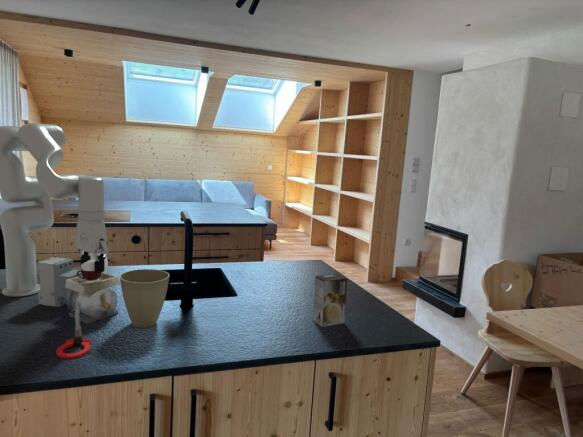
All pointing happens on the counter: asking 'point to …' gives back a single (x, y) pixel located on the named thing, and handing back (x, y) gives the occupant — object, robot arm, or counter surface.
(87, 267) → the cocoa
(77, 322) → the tow hook
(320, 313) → the coffee box
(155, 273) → the plant pot
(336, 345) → the counter surface
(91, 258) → the sauce bottle
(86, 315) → the clear storage container
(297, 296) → the counter surface
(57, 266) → the circuit breaker
